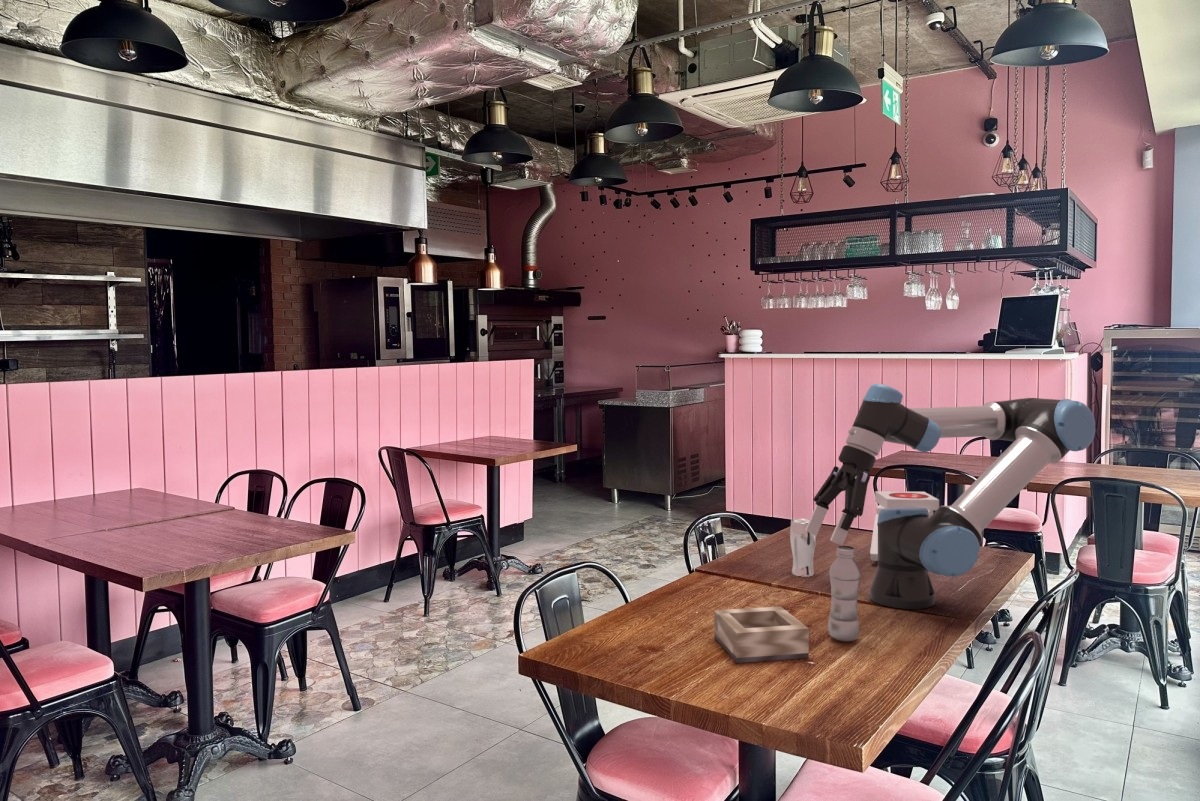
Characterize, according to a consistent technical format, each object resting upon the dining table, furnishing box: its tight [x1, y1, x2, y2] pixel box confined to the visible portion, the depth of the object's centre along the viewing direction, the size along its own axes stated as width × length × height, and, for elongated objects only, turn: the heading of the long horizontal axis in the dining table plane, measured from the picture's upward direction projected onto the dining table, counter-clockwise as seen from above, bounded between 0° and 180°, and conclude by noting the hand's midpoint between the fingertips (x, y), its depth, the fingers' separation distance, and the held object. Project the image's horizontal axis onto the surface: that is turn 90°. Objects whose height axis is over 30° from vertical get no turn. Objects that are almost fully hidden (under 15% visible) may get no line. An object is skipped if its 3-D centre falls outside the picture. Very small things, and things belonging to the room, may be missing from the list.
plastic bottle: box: [827, 544, 862, 642], centre depth 175 cm, size 6×7×20 cm
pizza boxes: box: [869, 490, 940, 562], centre depth 246 cm, size 19×30×18 cm, turn 154°
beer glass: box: [789, 518, 817, 578], centre depth 229 cm, size 7×7×15 cm
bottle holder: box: [713, 605, 810, 664], centre depth 172 cm, size 15×15×6 cm
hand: (822, 538), depth 183 cm, fingers open, 13 cm apart
